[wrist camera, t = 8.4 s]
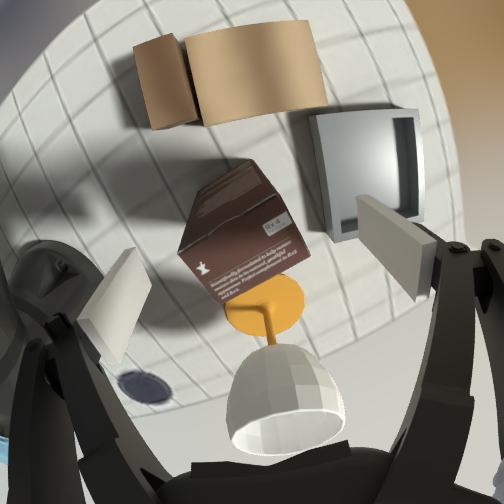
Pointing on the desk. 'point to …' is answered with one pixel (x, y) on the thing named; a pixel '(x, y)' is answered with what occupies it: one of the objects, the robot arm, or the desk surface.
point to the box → (240, 234)
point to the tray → (368, 165)
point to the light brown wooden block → (255, 70)
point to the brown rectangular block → (165, 83)
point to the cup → (279, 378)
